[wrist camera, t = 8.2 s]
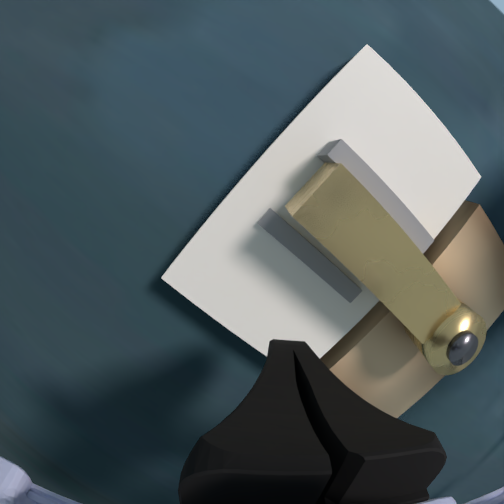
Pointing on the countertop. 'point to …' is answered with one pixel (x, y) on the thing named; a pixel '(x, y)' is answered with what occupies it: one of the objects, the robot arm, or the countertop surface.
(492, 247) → the strip
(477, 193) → the countertop surface
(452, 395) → the countertop surface
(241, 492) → the robot arm
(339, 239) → the lock arm
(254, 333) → the door panel
